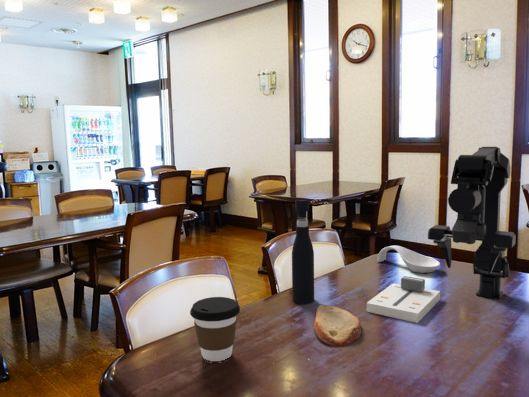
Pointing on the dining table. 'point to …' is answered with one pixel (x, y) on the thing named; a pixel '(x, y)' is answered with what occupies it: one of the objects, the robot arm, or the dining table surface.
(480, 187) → the robot arm
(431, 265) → the spoon rest
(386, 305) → the console
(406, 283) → the fader
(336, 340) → the slice of bread
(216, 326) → the coffee cup
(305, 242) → the black bottle
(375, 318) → the dining table surface
